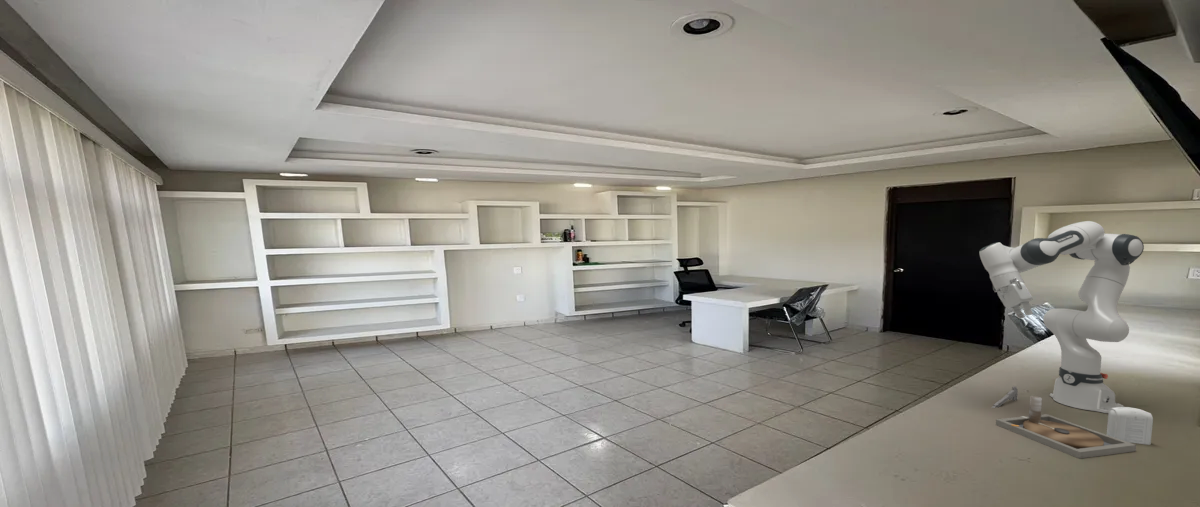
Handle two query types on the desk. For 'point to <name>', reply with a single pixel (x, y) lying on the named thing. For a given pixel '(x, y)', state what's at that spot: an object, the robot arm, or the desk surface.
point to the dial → (1059, 429)
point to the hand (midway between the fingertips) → (1025, 316)
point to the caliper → (1007, 397)
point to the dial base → (1110, 444)
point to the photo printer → (1130, 425)
